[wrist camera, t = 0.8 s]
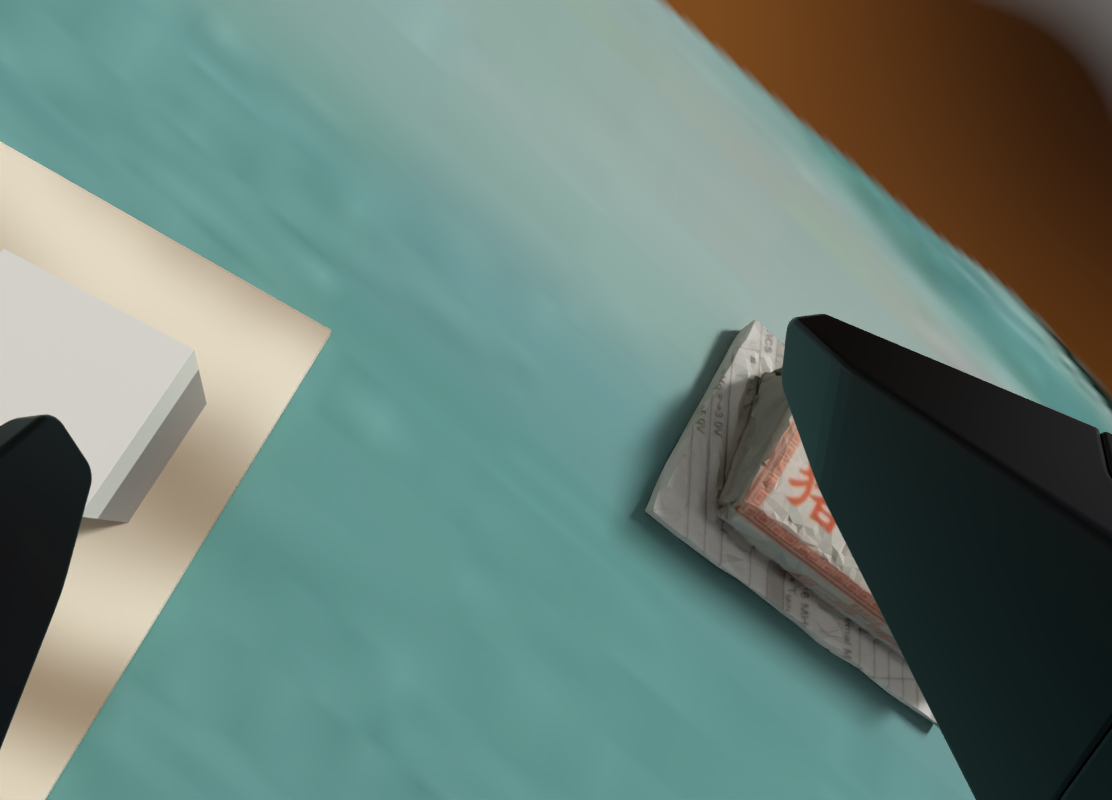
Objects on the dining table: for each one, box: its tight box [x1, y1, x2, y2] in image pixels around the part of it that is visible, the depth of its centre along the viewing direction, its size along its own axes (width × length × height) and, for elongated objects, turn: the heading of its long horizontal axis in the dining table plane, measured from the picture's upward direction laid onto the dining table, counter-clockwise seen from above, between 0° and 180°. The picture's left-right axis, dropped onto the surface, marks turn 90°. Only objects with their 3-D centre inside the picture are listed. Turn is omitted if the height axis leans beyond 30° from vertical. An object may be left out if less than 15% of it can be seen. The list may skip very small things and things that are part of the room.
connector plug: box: [0, 248, 207, 523], centre depth 17 cm, size 4×4×7 cm
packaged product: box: [645, 320, 940, 729], centre depth 30 cm, size 18×5×10 cm
